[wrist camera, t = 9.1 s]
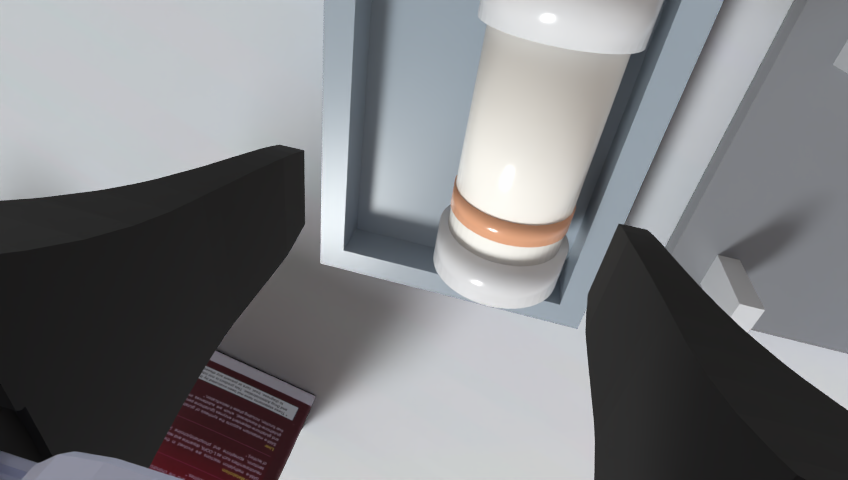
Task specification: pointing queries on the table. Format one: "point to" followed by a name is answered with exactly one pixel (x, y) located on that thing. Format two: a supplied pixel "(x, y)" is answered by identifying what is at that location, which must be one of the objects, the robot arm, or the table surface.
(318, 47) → the table surface
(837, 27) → the fuse holder
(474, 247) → the fuse
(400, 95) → the tray
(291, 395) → the supplement box
